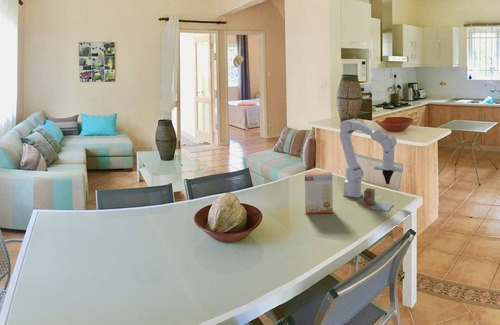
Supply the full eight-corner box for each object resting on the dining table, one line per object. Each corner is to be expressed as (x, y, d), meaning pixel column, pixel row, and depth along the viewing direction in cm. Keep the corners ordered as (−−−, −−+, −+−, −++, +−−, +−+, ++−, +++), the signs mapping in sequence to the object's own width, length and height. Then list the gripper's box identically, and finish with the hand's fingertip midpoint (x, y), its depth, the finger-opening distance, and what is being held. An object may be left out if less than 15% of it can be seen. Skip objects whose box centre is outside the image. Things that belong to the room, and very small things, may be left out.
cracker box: (331, 209, 228) (331, 171, 224) (332, 213, 222) (332, 174, 218) (304, 210, 230) (304, 171, 225) (305, 213, 224) (304, 174, 219)
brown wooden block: (363, 206, 232) (364, 191, 230) (367, 203, 237) (367, 188, 235) (371, 207, 230) (371, 191, 228) (374, 204, 235) (374, 189, 233)
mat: (370, 209, 227) (370, 208, 227) (376, 202, 237) (376, 202, 237) (388, 211, 222) (388, 210, 222) (393, 204, 232) (393, 204, 232)
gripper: (372, 159, 232) (372, 184, 235) (400, 161, 225) (399, 187, 228) (376, 157, 238) (375, 181, 241) (403, 159, 231) (402, 183, 234)
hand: (387, 183), depth 235 cm, fingers closed
